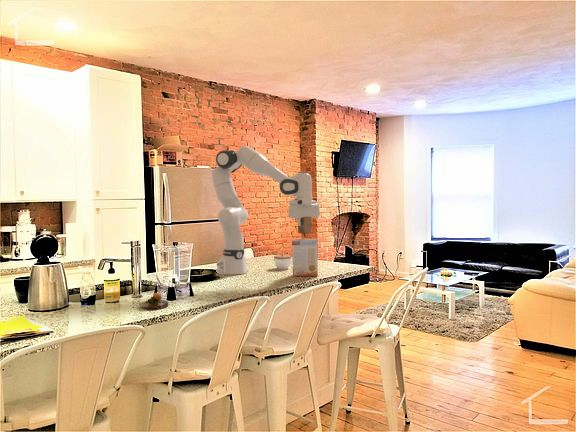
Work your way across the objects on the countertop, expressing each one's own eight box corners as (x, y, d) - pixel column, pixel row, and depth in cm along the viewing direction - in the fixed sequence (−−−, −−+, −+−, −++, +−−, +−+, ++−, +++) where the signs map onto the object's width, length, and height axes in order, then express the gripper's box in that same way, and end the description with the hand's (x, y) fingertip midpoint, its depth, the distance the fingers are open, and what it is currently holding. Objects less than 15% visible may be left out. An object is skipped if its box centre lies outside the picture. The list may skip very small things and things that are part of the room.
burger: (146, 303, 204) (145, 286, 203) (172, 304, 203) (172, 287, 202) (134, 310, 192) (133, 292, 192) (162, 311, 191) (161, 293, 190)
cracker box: (317, 274, 268) (317, 238, 267) (317, 276, 262) (317, 239, 261) (293, 274, 269) (292, 238, 268) (292, 276, 263) (292, 239, 262)
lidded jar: (271, 269, 287) (271, 254, 287) (277, 266, 297) (276, 252, 297) (288, 270, 284) (288, 254, 283) (293, 267, 294) (293, 252, 294)
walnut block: (298, 233, 265) (297, 217, 264) (304, 232, 268) (304, 216, 267) (304, 233, 260) (304, 217, 260) (311, 233, 263) (311, 217, 263)
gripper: (314, 200, 272) (315, 224, 273) (286, 201, 259) (287, 226, 260) (322, 200, 267) (322, 224, 268) (293, 201, 254) (294, 227, 255)
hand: (304, 225), depth 264 cm, fingers closed on walnut block, 5 cm apart
